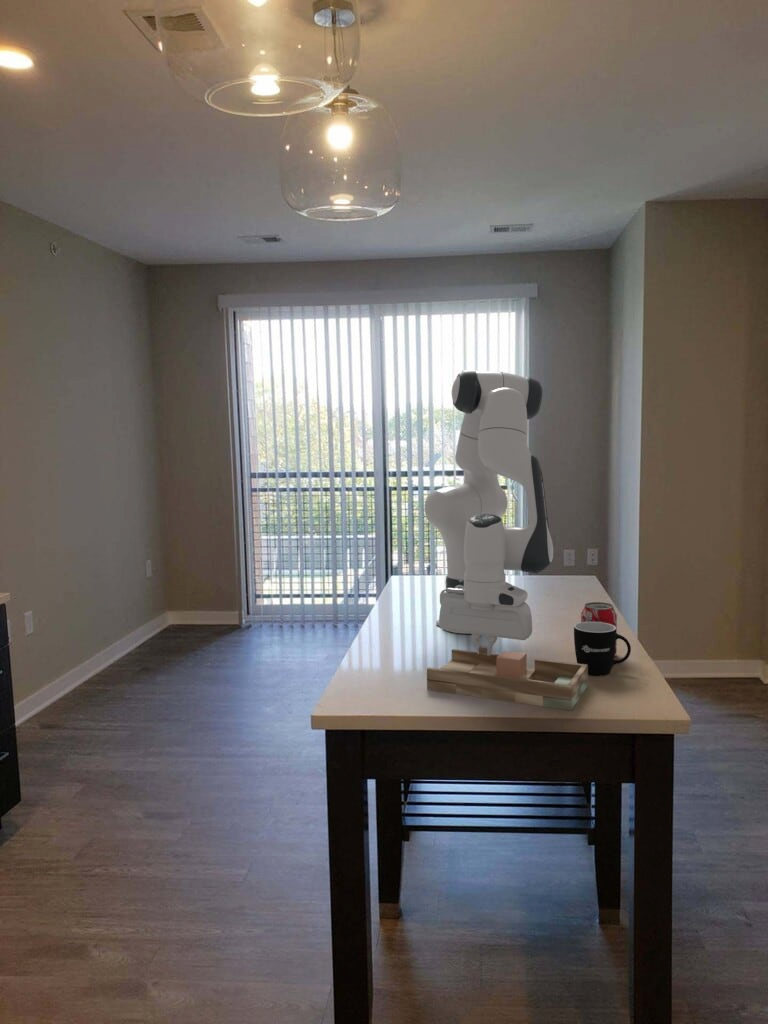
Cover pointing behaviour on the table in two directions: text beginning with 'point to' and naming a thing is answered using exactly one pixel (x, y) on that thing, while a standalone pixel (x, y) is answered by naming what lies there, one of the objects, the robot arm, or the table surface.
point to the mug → (597, 646)
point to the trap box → (511, 680)
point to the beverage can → (600, 614)
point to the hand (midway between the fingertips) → (484, 654)
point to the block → (511, 664)
